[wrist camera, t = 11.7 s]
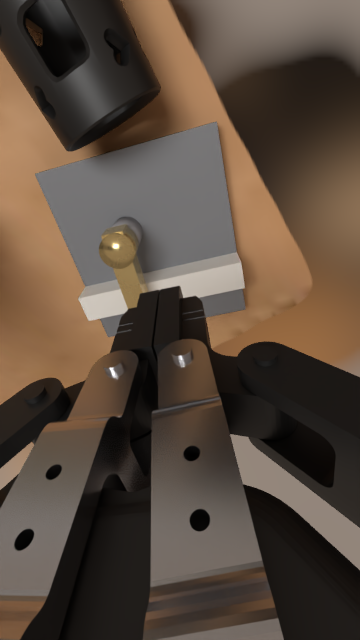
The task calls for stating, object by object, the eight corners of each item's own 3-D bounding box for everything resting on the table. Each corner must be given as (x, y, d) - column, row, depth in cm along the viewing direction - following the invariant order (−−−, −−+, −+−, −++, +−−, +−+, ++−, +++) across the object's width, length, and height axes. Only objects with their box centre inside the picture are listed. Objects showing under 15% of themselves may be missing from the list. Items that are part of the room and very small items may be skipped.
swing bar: (100, 229, 29) (93, 238, 27) (132, 222, 29) (128, 230, 27) (139, 336, 36) (136, 350, 33) (166, 330, 35) (164, 345, 33)
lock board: (111, 328, 42) (98, 364, 36) (42, 171, 32) (7, 182, 25) (242, 301, 40) (254, 334, 33) (214, 122, 29) (223, 120, 23)
